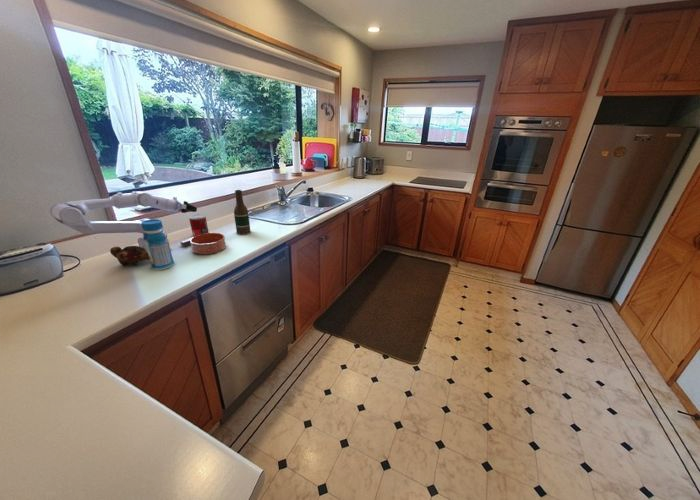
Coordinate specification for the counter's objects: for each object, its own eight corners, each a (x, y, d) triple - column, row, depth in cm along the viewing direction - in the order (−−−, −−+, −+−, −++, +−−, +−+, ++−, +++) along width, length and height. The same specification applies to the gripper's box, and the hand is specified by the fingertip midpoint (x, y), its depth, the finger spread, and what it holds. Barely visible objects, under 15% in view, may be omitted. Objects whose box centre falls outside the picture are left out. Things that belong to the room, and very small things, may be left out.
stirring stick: (184, 247, 138) (183, 242, 137) (181, 246, 139) (180, 241, 138) (200, 241, 146) (199, 236, 145) (197, 240, 147) (196, 236, 146)
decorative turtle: (118, 259, 124) (114, 242, 121) (157, 259, 128) (155, 242, 125) (106, 269, 115) (102, 250, 112) (149, 268, 119) (146, 250, 116)
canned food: (204, 238, 149) (201, 218, 145) (190, 237, 149) (185, 218, 145) (211, 233, 156) (208, 214, 152) (197, 232, 156) (193, 213, 152)
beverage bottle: (163, 271, 115) (151, 225, 107) (146, 269, 117) (132, 223, 109) (179, 262, 123) (168, 219, 115) (162, 260, 124) (151, 217, 116)
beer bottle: (253, 230, 162) (248, 189, 153) (247, 235, 155) (242, 192, 145) (240, 229, 163) (234, 188, 153) (233, 234, 156) (227, 191, 146)
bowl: (207, 257, 129) (205, 246, 126) (185, 251, 134) (182, 240, 132) (232, 246, 141) (231, 236, 139) (211, 240, 147) (209, 230, 144)
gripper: (174, 195, 127) (201, 202, 139) (156, 194, 133) (184, 200, 145) (171, 210, 127) (199, 216, 139) (153, 208, 133) (182, 214, 145)
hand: (191, 209), depth 142 cm, fingers open, 7 cm apart
